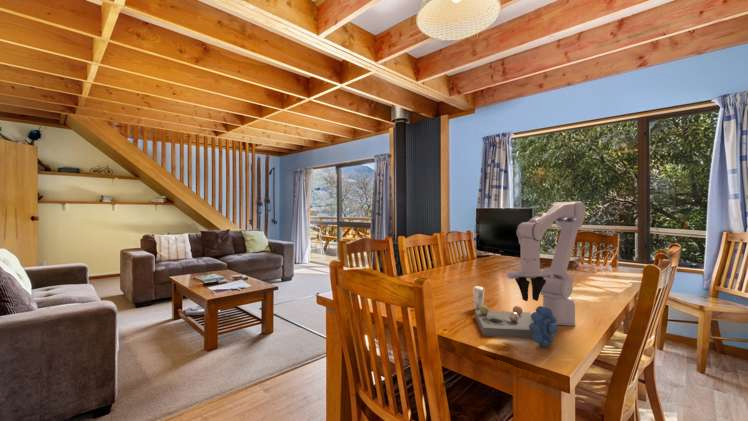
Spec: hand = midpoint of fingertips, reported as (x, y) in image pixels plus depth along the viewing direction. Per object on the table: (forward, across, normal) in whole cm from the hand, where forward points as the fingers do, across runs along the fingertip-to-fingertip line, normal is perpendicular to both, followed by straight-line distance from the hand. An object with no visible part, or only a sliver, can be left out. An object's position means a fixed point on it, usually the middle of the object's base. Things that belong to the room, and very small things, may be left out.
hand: (530, 300), depth 106 cm
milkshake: (+10, +8, -22) cm, 26 cm away
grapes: (+10, +3, +13) cm, 17 cm away
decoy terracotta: (+6, 0, -8) cm, 10 cm away
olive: (+6, +12, -9) cm, 16 cm away
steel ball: (+6, +5, -1) cm, 8 cm away
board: (+10, +6, -3) cm, 12 cm away
